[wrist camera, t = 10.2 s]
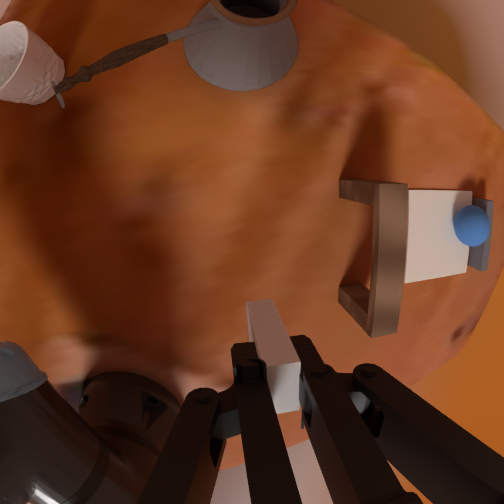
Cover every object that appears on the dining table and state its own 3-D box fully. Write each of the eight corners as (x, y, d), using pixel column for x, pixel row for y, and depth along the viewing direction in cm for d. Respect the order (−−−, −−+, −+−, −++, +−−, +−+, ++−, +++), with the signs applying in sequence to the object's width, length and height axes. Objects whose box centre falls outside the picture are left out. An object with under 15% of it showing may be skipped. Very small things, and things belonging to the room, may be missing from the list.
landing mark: (465, 272, 39) (465, 272, 39) (403, 282, 38) (404, 283, 37) (471, 191, 36) (472, 191, 36) (408, 189, 35) (409, 190, 34)
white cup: (72, 42, 26) (34, 9, 16) (67, 102, 27) (21, 82, 18) (21, 59, 25) (-23, 37, 15) (15, 116, 27) (-35, 106, 17)
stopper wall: (474, 264, 39) (487, 269, 36) (468, 265, 39) (480, 271, 36) (479, 198, 36) (493, 200, 33) (473, 198, 36) (487, 200, 33)
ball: (482, 242, 36) (492, 252, 31) (449, 239, 38) (455, 250, 33) (485, 204, 34) (496, 210, 30) (451, 201, 37) (459, 206, 32)
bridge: (360, 298, 37) (396, 332, 28) (338, 301, 37) (371, 338, 28) (362, 179, 34) (407, 183, 25) (338, 179, 33) (379, 183, 24)
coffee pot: (257, -4, 27) (283, -85, 12) (311, 70, 30) (372, 15, 16) (91, 85, 27) (22, 41, 13) (138, 167, 31) (81, 165, 16)
